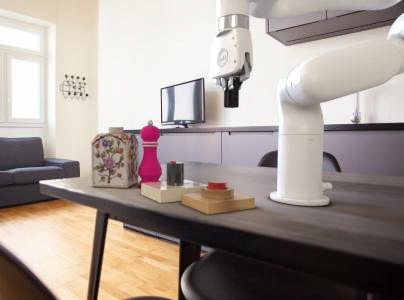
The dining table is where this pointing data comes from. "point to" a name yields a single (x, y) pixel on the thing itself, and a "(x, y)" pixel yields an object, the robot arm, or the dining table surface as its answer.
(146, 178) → the pepper mill
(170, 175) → the dark grey block
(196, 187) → the panel
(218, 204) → the button block
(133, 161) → the decorative jar
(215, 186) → the button
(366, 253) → the dining table surface
